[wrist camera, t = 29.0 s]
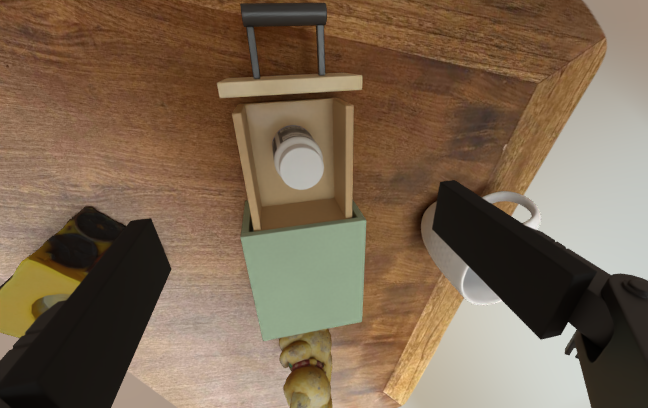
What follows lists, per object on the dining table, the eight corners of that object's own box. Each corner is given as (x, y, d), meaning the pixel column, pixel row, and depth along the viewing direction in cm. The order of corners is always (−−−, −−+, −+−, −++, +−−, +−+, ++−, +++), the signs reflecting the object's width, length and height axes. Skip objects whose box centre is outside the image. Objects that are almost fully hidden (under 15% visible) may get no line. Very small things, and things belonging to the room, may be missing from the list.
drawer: (213, 12, 25) (199, -3, 20) (342, 10, 27) (364, -4, 21) (250, 209, 35) (248, 239, 29) (343, 198, 37) (358, 224, 31)
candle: (40, 256, 34) (-38, 324, 25) (86, 202, 32) (20, 254, 23) (122, 293, 38) (81, 361, 30) (167, 247, 36) (137, 305, 28)
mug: (481, 154, 39) (569, 191, 28) (501, 204, 45) (583, 253, 33) (396, 214, 41) (446, 273, 30) (425, 256, 47) (477, 319, 35)
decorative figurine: (268, 329, 47) (270, 431, 34) (300, 299, 46) (314, 395, 33) (309, 346, 52) (324, 443, 39) (339, 320, 50) (366, 412, 37)
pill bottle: (298, 171, 33) (309, 202, 26) (264, 151, 31) (264, 178, 24) (321, 138, 32) (338, 161, 24) (286, 115, 30) (293, 132, 23)
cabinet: (245, 200, 36) (240, 237, 28) (345, 188, 38) (366, 219, 30) (263, 293, 43) (263, 341, 36) (345, 279, 45) (362, 321, 38)
